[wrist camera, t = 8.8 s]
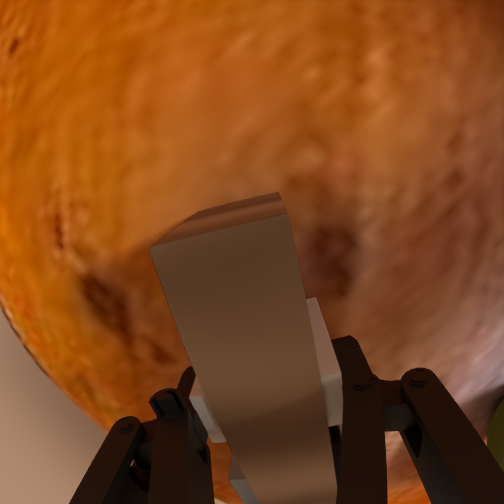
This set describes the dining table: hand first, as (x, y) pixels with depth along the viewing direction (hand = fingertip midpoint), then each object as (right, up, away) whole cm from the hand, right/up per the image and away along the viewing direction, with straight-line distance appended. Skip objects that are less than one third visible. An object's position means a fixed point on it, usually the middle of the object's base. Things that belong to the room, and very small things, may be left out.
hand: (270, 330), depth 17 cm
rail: (+1, -2, +1) cm, 2 cm away
